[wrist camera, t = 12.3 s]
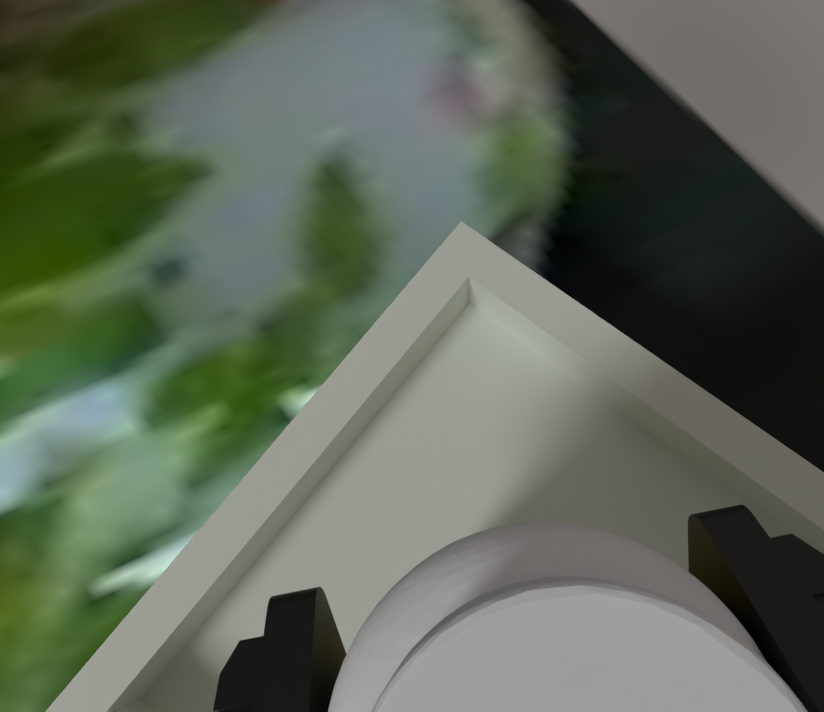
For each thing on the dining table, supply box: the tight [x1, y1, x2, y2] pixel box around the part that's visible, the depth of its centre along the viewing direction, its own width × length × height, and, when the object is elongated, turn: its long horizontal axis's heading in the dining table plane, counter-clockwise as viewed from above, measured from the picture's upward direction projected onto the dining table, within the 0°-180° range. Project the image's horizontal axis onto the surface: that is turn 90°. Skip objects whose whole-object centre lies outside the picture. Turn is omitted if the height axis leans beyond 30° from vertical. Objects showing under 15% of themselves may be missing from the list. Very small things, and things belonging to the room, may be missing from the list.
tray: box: [45, 221, 824, 712], centre depth 16 cm, size 14×14×2 cm
